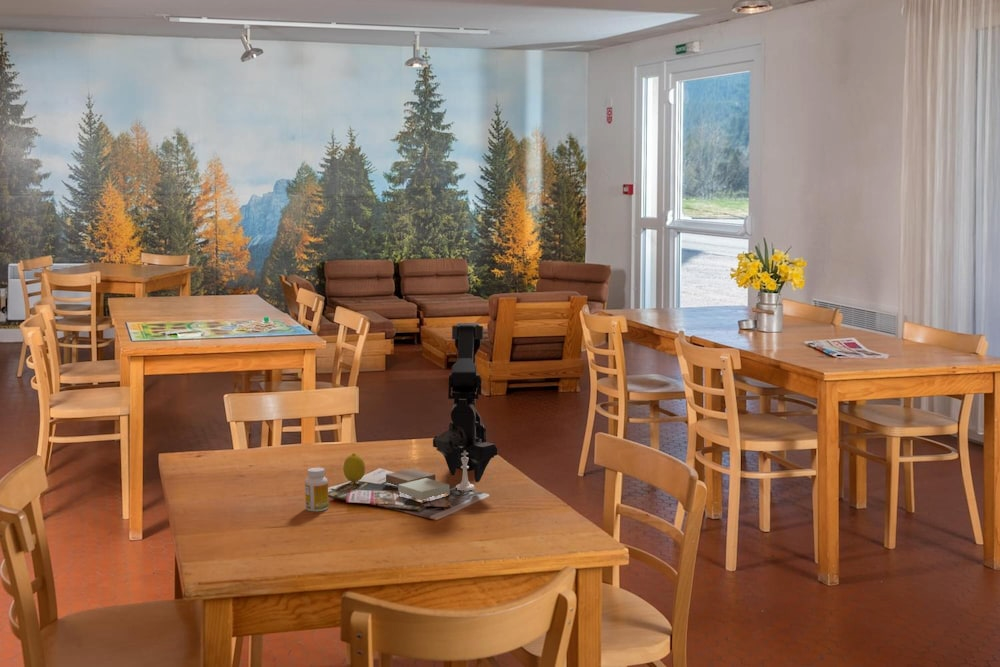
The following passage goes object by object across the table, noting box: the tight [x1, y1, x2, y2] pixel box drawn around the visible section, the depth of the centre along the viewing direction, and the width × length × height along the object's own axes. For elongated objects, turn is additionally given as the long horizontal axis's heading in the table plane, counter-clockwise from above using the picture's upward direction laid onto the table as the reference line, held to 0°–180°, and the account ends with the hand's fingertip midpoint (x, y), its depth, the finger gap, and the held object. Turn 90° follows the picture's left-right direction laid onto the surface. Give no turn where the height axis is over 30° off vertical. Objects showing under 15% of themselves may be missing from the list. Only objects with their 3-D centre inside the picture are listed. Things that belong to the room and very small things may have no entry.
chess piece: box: [455, 450, 475, 491], centre depth 281 cm, size 5×5×10 cm
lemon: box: [342, 453, 366, 483], centre depth 287 cm, size 6×6×8 cm
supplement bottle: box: [304, 467, 329, 513], centre depth 264 cm, size 5×5×10 cm
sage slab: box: [397, 478, 451, 500], centre depth 275 cm, size 9×9×3 cm
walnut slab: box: [385, 467, 436, 486], centre depth 285 cm, size 9×9×3 cm
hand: (465, 478), depth 282 cm, fingers open, 9 cm apart
